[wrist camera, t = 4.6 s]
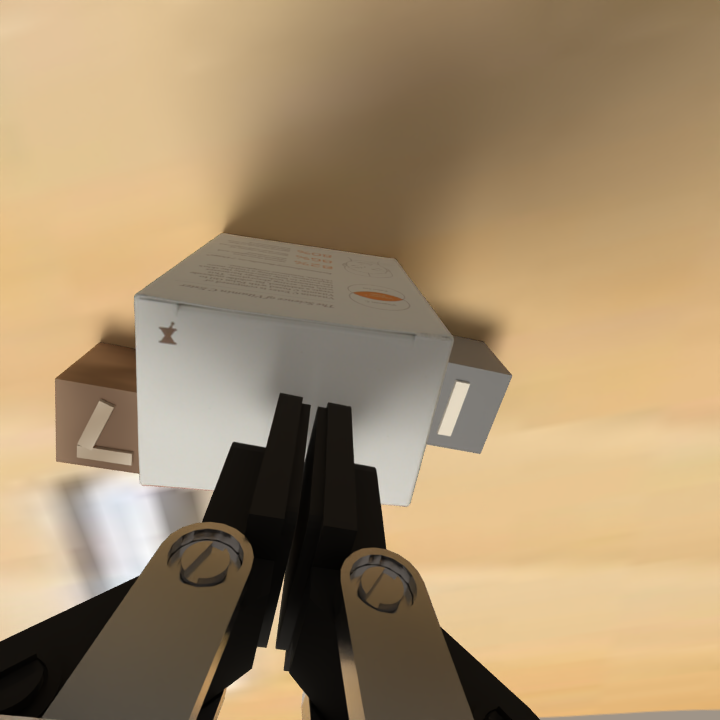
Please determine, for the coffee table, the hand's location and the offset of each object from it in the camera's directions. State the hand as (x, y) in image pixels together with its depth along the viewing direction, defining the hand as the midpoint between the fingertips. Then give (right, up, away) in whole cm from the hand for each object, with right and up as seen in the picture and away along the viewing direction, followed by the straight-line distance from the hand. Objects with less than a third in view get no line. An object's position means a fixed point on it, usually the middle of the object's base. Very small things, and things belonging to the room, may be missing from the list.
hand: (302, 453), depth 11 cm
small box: (-1, +5, +11) cm, 12 cm away
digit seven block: (-9, +1, +12) cm, 15 cm away
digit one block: (+5, +2, +13) cm, 14 cm away
